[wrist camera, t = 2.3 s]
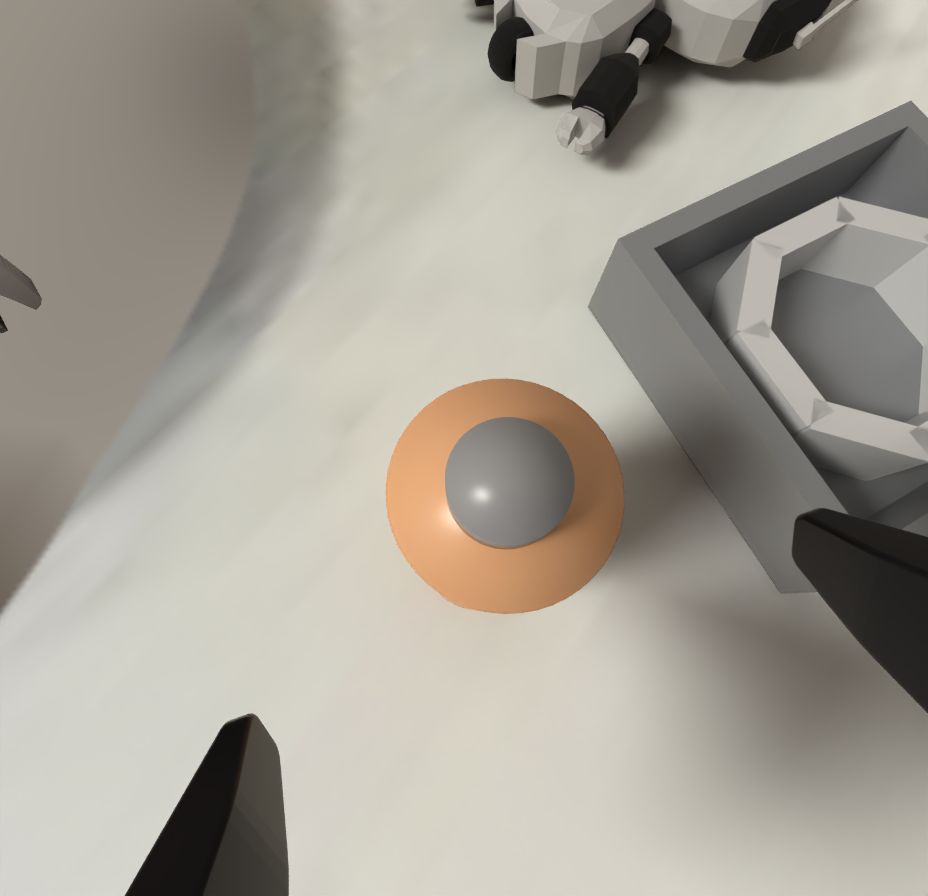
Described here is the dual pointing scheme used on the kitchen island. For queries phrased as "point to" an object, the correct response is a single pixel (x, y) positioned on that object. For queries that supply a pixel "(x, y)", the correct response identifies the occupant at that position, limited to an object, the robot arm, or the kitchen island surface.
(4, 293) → the caliper
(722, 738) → the kitchen island surface
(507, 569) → the orange cylinder
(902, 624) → the robot arm
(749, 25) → the robot toy
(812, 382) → the housing
